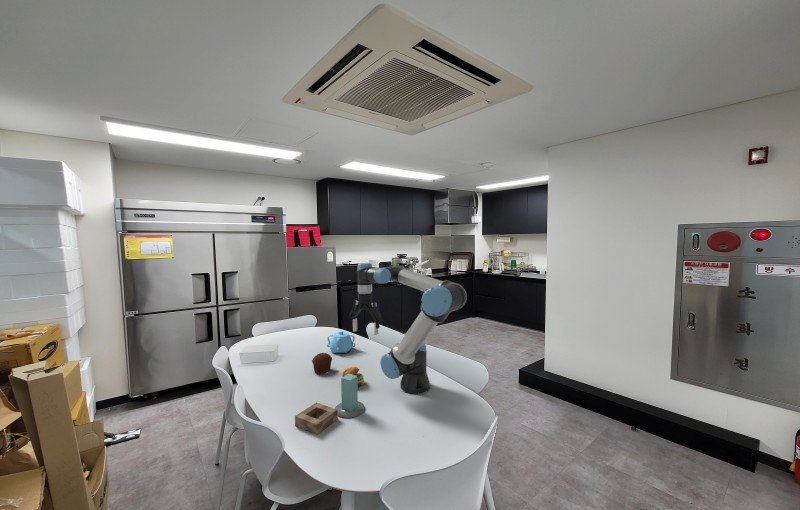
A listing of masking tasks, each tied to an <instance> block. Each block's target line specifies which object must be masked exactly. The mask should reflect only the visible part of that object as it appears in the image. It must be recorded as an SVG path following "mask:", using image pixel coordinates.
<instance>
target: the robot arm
mask: <svg viewBox="0 0 800 510" xmlns="http://www.w3.org/2000/svg"><path fill="white" fill-rule="evenodd" d="M356 271H357V300H353V305H352V307H351V310H350V311H349V314H348V318H350V319H351V325H352V332H357V331H358V318H357V317H358V315H359V314H360V313H361V311H366V312H368V313H369V314H370V316H371V318H372V319H373V320H374V322H373V332H374V333H373V335H374V336H377V335H379V329H380V323H381V322H383V320H384V319H383V317H382V313H381V312H380V309H379V305H378V302H373V283H376V284H388V283H389V282H393V281H394V282H396V283H397V282H398V283H400V284H403V285H405V286H408V287H410V288H414V289H416V290H419V291H422V292H423V294H422V297H421V303H420V304H421V305H420V310H421V311H420V312H419V314H418V315H417V317H416V318H415V320H414V321H413V323H412V324H411V326H410V327H409V329H408V330H407V332H406V333H405V334H404V336H403V337H402V339H401V340H400V342H398V343H395V344H394V345H393V346H392V348H391V350H390V351H389V352H388V353H385V354H383V355H382V356H381V358H380V360H379V361H380V369H381V371H382V372H383V374H384V375H385V377H386V378H388V379H390V380H396V379H399V377H401V376H402V377H401V380H400V383H399V384H400V385H399V387H400V390H402V392H404V393H407V394H413V395H419V394H424V393H427V392H428V391H429V390H430V389H431V381H430V378H429V376H428V372H427V352H428V350H427V345H426V344H425V343H424V342H426V340H427V338H428V337H429V335H430V334H431V333H432V332H433V330H434V329H435V327H436V326H437V325H438V324H442V323H443V322H445V320H446V319H447V318H448V316H450V313H452V312H454V311H457V310H460V309H462V308H463V307H464V306H465V304H466V303H467V300H468V299H467V297H468V295H467V291H466V290H465V288H464V286H462V285H461V284H460V283H457V282H453V281H450V280H447V279H445V280H443V281H442V280H440V279H436V278H433V277H431V276H428V275H423V274H421V273H418V272H414V271H412V270H408V269H407V268H406V267H404V266H402V265H395V266H385V267H373V265H372V262H360V263H358V264H357V270H356Z"/></svg>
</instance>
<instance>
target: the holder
mask: <svg viewBox="0 0 800 510" xmlns="http://www.w3.org/2000/svg"><path fill="white" fill-rule="evenodd" d="M316 417H317V418H316ZM338 419H339V416H338V410H337V409H335V407H331V406H328V405H325V404H323V403H319V402H318V401H317V402H314V403H313V404H312V405H310V406H309V407H307V408H305V409H304V410H303V411H301V412H299V413H297V414H296V415H294V426H295V427H297V428H300V429H302V430H304V431H307V432H310V433H312V434H314V435H319V434H320V433H321V432H322V431H324V430H325V429H326V428H328V427H329V426H330V425H331V424H333V423H334V422H336V421H337V420H338Z"/></svg>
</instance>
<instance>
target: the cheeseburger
mask: <svg viewBox="0 0 800 510" xmlns="http://www.w3.org/2000/svg"><path fill="white" fill-rule="evenodd" d="M359 371H360V369H359V368H358V367H357V366H352V367H347V368H346V369H344V370H343V372H342V375H341V378H342V377H344V376H345V375H347V374H352V375H356V376H357V387H360V386H363V385H364V384H365V380H364V375H363V373H358V372H359Z"/></svg>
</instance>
